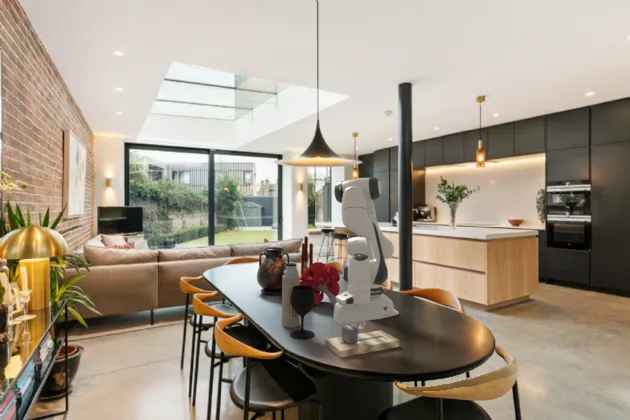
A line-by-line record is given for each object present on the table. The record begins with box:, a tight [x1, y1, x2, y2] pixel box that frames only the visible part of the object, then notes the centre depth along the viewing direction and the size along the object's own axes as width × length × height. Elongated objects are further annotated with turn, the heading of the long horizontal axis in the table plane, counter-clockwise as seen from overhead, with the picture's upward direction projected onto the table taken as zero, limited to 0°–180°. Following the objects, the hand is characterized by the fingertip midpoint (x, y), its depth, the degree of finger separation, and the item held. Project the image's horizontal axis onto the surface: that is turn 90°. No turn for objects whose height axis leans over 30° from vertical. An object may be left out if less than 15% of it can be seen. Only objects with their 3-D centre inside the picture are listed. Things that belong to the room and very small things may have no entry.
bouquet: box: [300, 261, 341, 308], centre depth 192 cm, size 22×24×30 cm
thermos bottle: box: [281, 262, 301, 328], centre depth 159 cm, size 8×8×28 cm
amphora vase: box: [256, 246, 290, 296], centre depth 218 cm, size 22×22×28 cm
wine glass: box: [289, 285, 315, 340], centre depth 146 cm, size 10×10×20 cm
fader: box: [341, 324, 359, 344], centre depth 133 cm, size 4×5×5 cm
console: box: [324, 330, 400, 359], centre depth 135 cm, size 26×12×3 cm, turn 114°
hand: (358, 332), depth 134 cm, fingers closed
